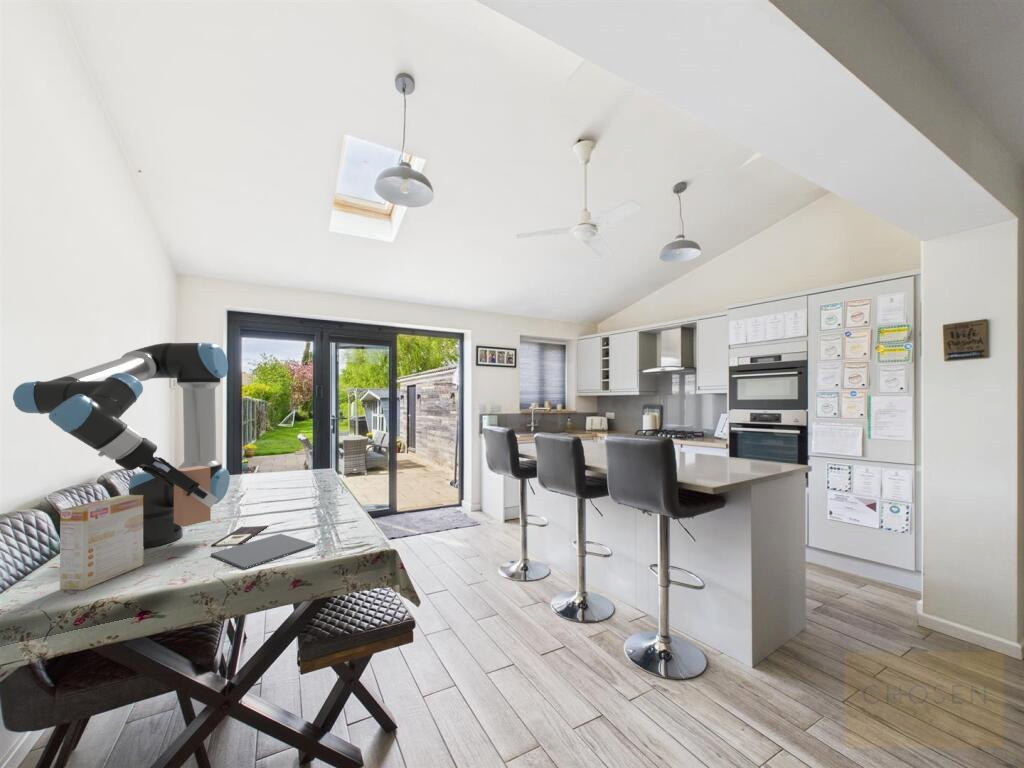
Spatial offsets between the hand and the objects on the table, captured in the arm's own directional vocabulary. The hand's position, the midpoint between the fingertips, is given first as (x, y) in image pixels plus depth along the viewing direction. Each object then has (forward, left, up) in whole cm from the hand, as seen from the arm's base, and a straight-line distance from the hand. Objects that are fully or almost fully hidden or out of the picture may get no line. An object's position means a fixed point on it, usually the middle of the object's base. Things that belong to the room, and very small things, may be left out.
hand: (208, 501), depth 112 cm
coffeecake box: (-18, -16, -18) cm, 30 cm away
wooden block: (0, -4, -5) cm, 6 cm away
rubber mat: (0, +15, -18) cm, 23 cm away
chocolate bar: (-21, +18, -19) cm, 33 cm away
